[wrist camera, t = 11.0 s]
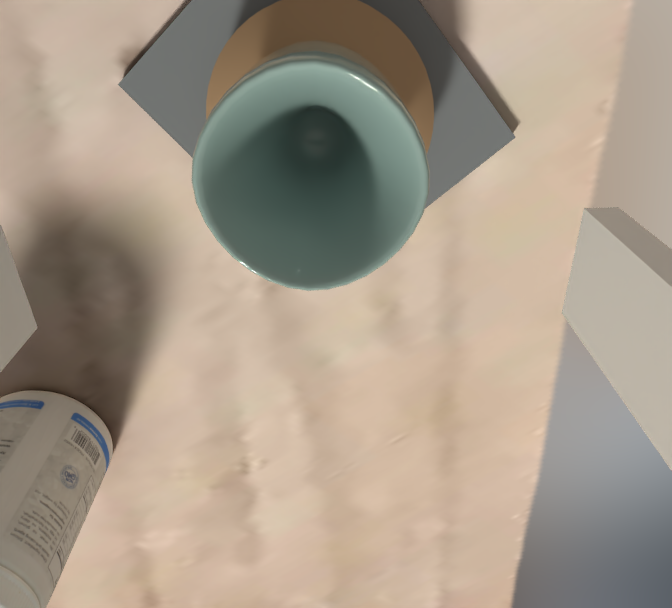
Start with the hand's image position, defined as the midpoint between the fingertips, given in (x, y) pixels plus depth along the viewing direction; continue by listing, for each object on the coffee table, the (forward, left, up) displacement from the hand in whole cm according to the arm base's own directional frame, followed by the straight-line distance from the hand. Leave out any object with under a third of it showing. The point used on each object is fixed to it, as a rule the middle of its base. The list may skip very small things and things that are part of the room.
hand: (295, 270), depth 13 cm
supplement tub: (+4, -31, -20) cm, 37 cm away
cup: (0, 0, -16) cm, 16 cm away
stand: (0, 0, -20) cm, 20 cm away
